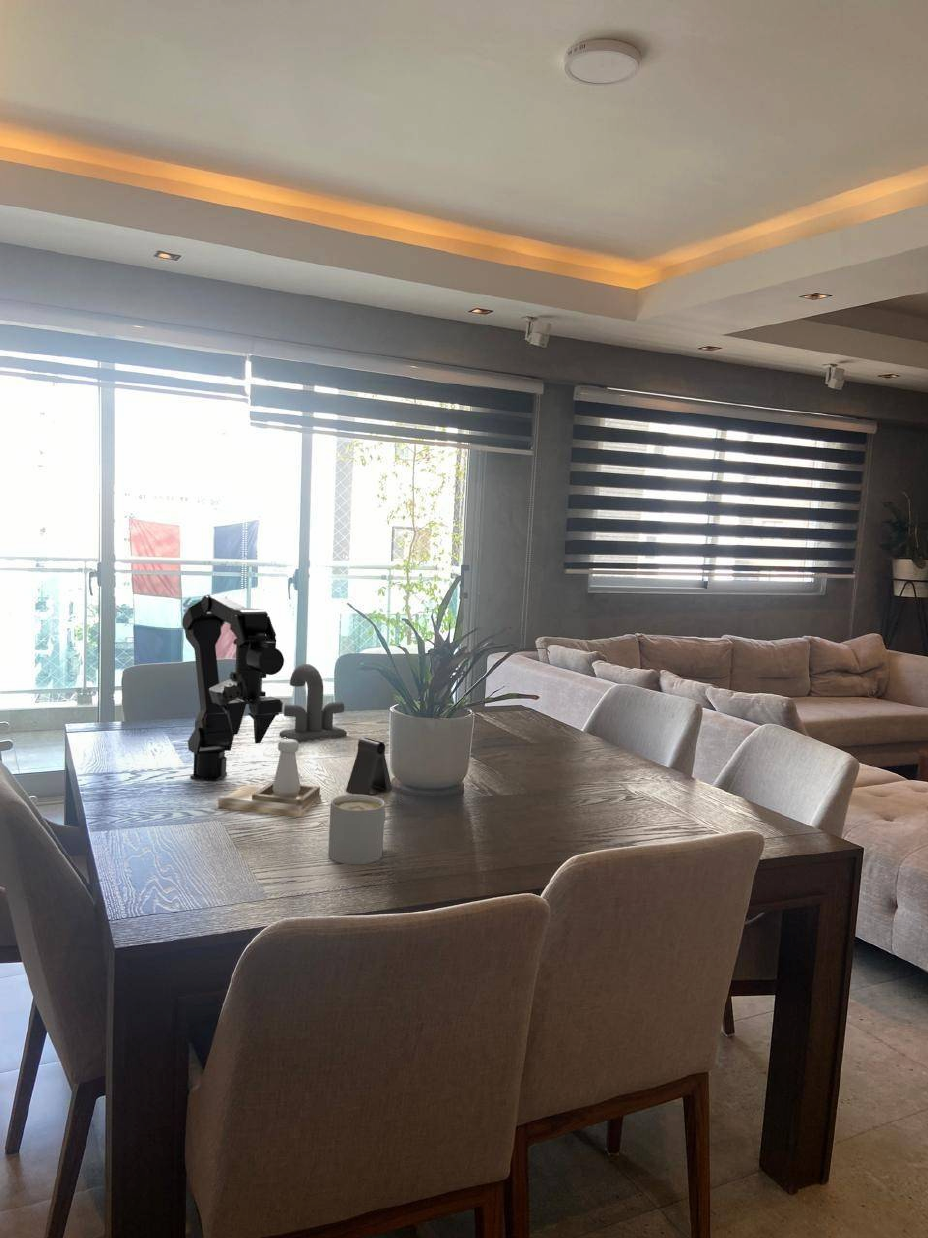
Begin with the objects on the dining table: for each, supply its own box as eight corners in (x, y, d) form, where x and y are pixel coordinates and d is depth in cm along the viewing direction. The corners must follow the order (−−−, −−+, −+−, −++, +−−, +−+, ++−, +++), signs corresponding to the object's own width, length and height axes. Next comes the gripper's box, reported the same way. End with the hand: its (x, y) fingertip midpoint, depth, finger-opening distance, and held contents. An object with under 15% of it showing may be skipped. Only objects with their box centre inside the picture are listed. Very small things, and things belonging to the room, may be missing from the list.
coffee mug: (353, 868, 166) (356, 814, 165) (317, 853, 173) (319, 800, 172) (406, 851, 176) (409, 800, 175) (369, 838, 183) (372, 788, 182)
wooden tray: (218, 807, 196) (218, 792, 196) (243, 790, 209) (244, 776, 208) (299, 817, 193) (300, 802, 192) (320, 799, 206) (321, 785, 205)
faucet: (317, 725, 280) (320, 659, 278) (348, 735, 269) (351, 667, 267) (264, 731, 268) (267, 662, 266) (294, 742, 256) (297, 670, 254)
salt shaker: (269, 796, 202) (272, 737, 200) (295, 794, 204) (298, 736, 203) (276, 804, 196) (278, 743, 195) (302, 802, 199) (305, 742, 198)
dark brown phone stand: (363, 798, 209) (366, 745, 208) (345, 791, 213) (348, 740, 212) (392, 791, 216) (395, 740, 215) (374, 785, 220) (377, 735, 219)
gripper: (193, 663, 202) (190, 734, 204) (239, 677, 189) (236, 752, 190) (238, 660, 210) (236, 729, 211) (285, 673, 197) (282, 746, 198)
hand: (246, 738), depth 203 cm, fingers open, 9 cm apart
